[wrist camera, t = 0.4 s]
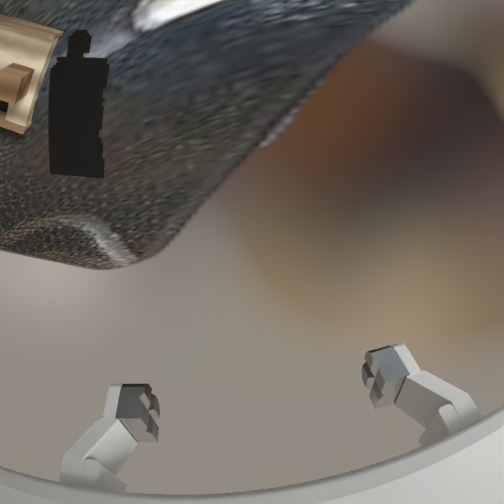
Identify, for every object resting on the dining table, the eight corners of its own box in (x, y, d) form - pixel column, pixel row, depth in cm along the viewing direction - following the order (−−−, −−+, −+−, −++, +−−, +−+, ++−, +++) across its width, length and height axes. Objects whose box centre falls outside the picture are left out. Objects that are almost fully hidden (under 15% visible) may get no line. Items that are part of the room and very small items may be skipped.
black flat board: (50, 173, 54) (55, 30, 34) (51, 172, 55) (56, 30, 34) (103, 178, 58) (120, 31, 38) (103, 176, 58) (121, 31, 38)
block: (13, 62, 34) (-1, 70, 30) (34, 69, 36) (21, 77, 33) (6, 87, 36) (-8, 97, 33) (27, 94, 39) (14, 104, 36)
